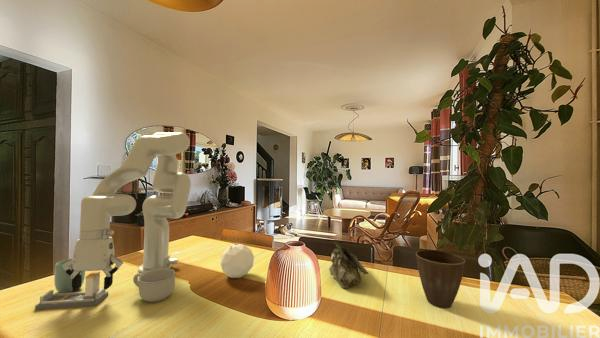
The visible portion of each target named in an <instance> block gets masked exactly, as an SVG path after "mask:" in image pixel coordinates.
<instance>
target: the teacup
mask: <svg viewBox="0 0 600 338" xmlns="http://www.w3.org/2000/svg"><path fill="white" fill-rule="evenodd" d="M175 280H176V270H174V269H173V268H159V269H154V270H150V271H147V272H145V273H141V272H137V273H136V274H135V275H133V279H132V281H133V284H134V286H136V287H137V288H138V295H139V297H140V298H141V300H143V301H145V302H147V303H157V302H162V301H164V300H166V299H167V298H168V297H169V296H170V295H171V294H172V293H173V291H174V289H175V283H176V281H175Z"/></svg>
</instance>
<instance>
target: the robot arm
mask: <svg viewBox="0 0 600 338" xmlns="http://www.w3.org/2000/svg"><path fill="white" fill-rule="evenodd" d="M190 142H191V140H190V137H189V135H188V134H186V133H184V132H174V131H173V132H170V131H168V132H165V131H164V132H163V131H161V132H160V131H159V132H155V133H153V134H152V135H143V136H140V137H138V138H137V139H136V140H135V142H134V143H133V146H132V148H131V149H130V150H129V153H128V155H127V156H126V158H125V160H124V162H123V163H122V165H120V166H119V167H117V168H116V169H114V171H112V172H111V173H110V174H108V175H107V176H106V177H104V178H103V179H102V180H101V181H100V182H99V184H98V185H97V187H96V188H95V190H94V192H93V193H92V195H90V196H84V197H83V198H82V200H81V203H80V220H79V238H78V239H77V240H76V243H75V246H74V249H73V255H72V258H70V259H71V260H70V261H68V262H66V263H65V264H63V265H62V267H63V268H64V270H66V273H67V274H68V275H69V276H70V278H71V279H72V288H73V289H72V291H73V292H77V291H78V290H79V289H81V288H82V286H81V283H82V276H81V275H80V273H81V272H82V271H85V272H100V271H102V272H103V273H104V274H105V277H104V278H103V288H104V290H106V291H107V290H108V289H109V288H111V287H112V285H113V280H114V274H115V273H116V272H117V271H118V270H119V269H120V268H121V267H122V266H123V264H124V261H123V260H121V259H120V258H118V257H116V255H115V246H114V245H115V244H114V239H113V236H111V235H114V234H115V231H114V230H112V229H111V227H110V226H111V225H110V222H111V217H114V216H116V217H117V216H118V217H119V216H121V217H123V216H126V215H127V216H128V215H129V214H131V213H132V212H134V211H135V210H136V207H137V201H136V199H135V197H133V196H132V195H129V194H125V193H117V192H118V191H119V189H120V188H121V187H123V186H124V185H127V184H129V183H131V182H134V181H137V180H139V179H141V178H143V177H146V175H147V174H148V172H149V170H150V167H151V165H152V163H153V161H154V159H155V158H156V157H157V165H156V167H155V173H154V175H153V180H152V181H153V182H152V189H153V191H155V192H157V193H162V194H172V195H158V194H157V195H155V194H154V195H151V196H149V197H146V198H145V199H144V201H143V203H142V213H143V220H144V229H143V230H144V232H143V235H144V236H143V255H142V256H143V258H142V264H141V265H139V266H138V269H137V271H138V273H145V272H147V271H150V270H154V269H159V268H170V269H172V266H173V265H178V264H179V259H178V258H176V257H174V258H171V255H170V254H169V245H170V243H169V242H170V224H169V221H168V220H167V219H174V220H175V219H180V218H181V217H183V216H184V215H185V212H186V210H187V206H188V201H189V198H190V197H189V196H190V192H191V187H192V186H191V185H192V182H191V177H190V176H189V175H188V174H187V173H184V172H179V171H178V169H179V161H178V158H177V156H176V155H177V154H178V155H179V154H180V153H183V152H186V151H187V150H188V149H189V147H190V144H191V143H190ZM71 264H72V267H73V268H72V267H71ZM114 264H115V265H114ZM113 265H114V267H112V266H113Z"/></svg>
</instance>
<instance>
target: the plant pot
mask: <svg viewBox="0 0 600 338" xmlns="http://www.w3.org/2000/svg"><path fill="white" fill-rule="evenodd" d="M415 257H416V264H417V269H418V275H419V279H420V283H421V286H422V287H421V288H422V290H423V292H424V293H423V294H424V295H425V298H426V300H427V302H428V303H429V304H430V305H432V306H435V308H436V307H437V308H440V309H449V308H451V307H452V306H453V305H454V304H453V303H454V302H455V300H456V298H457V294H458V292H459V290H460V288H461V287H460V286H461V283H462V280H463V275H464V270H465V265H466V259H464V258H463V257H461V256H459V255H457V254H454V253H451V252H447V251H442V250H436V249H432V250H431V249H423V250H417V251H416V252H415Z"/></svg>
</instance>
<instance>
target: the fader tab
mask: <svg viewBox="0 0 600 338" xmlns="http://www.w3.org/2000/svg"><path fill="white" fill-rule="evenodd" d="M100 278H101V271H91V272H90V273H89V274H88V275H85V278H84V280H85V286H84V287H85V290H84V292H85V295H84V296H83V299H91V298H95V295H96V293H97V292H98V291H99V290H100V282H101V281H100Z"/></svg>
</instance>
